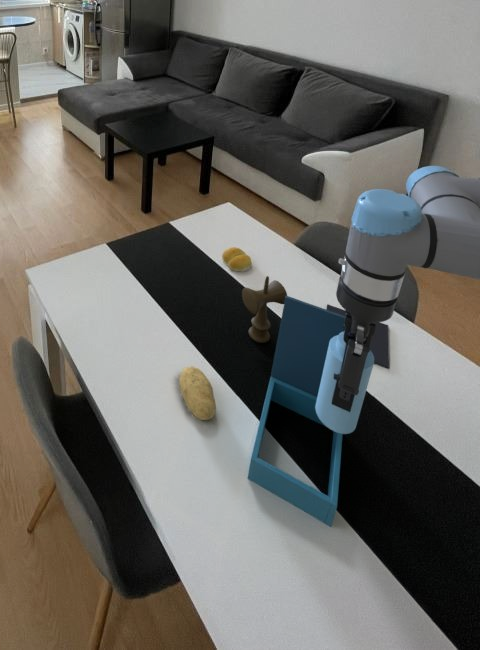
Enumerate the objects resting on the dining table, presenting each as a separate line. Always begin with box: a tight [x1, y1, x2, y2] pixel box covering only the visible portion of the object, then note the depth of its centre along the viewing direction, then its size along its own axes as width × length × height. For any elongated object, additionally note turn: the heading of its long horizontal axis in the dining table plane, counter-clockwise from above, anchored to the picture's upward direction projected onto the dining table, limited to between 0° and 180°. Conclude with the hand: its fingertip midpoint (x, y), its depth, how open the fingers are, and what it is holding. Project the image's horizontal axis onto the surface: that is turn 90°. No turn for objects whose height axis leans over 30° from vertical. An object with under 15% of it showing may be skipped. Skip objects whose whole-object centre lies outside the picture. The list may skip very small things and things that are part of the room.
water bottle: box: [315, 332, 375, 435], centre depth 73 cm, size 6×6×20 cm
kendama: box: [241, 275, 288, 344], centre depth 107 cm, size 6×10×20 cm, turn 106°
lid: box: [270, 295, 345, 397], centre depth 87 cm, size 20×14×1 cm
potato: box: [179, 365, 217, 421], centre depth 95 cm, size 7×11×6 cm, turn 7°
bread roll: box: [221, 247, 253, 272], centre depth 136 cm, size 8×9×4 cm
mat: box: [326, 304, 390, 370], centre depth 110 cm, size 14×14×1 cm
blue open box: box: [247, 376, 343, 528], centre depth 83 cm, size 19×14×8 cm
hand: (342, 388), depth 74 cm, fingers closed on water bottle, 6 cm apart
